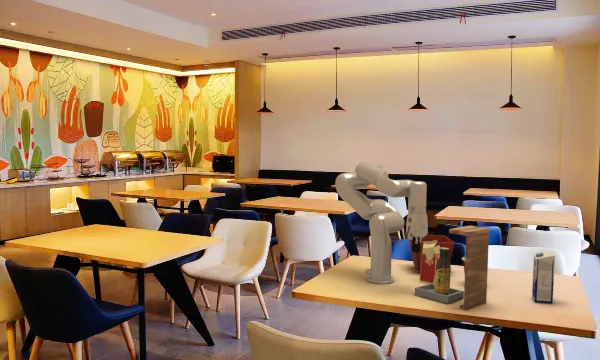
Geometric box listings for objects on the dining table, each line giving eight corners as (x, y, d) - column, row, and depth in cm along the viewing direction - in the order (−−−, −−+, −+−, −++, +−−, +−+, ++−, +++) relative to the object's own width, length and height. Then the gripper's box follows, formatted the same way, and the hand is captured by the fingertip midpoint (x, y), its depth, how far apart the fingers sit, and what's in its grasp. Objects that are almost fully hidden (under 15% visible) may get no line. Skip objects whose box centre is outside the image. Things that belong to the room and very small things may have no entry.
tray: (414, 294, 220) (414, 287, 219) (430, 289, 228) (431, 283, 227) (447, 303, 208) (447, 296, 207) (463, 298, 216) (463, 291, 215)
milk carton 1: (444, 281, 242) (445, 239, 241) (434, 285, 236) (436, 241, 234) (426, 278, 249) (428, 236, 247) (416, 281, 242) (418, 239, 241)
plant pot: (453, 276, 253) (455, 242, 252) (414, 275, 253) (415, 241, 252) (444, 267, 272) (445, 235, 271) (407, 266, 272) (408, 234, 271)
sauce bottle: (436, 297, 213) (438, 249, 212) (431, 293, 220) (433, 246, 218) (452, 297, 214) (454, 249, 213) (446, 292, 220) (448, 246, 219)
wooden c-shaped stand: (446, 305, 206) (449, 229, 204) (467, 298, 216) (469, 225, 214) (466, 310, 200) (469, 232, 198) (486, 302, 210) (489, 228, 208)
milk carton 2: (552, 304, 210) (555, 255, 208) (534, 302, 211) (536, 254, 210) (549, 299, 216) (551, 251, 215) (531, 297, 218) (533, 250, 217)
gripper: (413, 212, 216) (412, 255, 218) (434, 209, 227) (433, 251, 228) (399, 210, 222) (398, 252, 223) (420, 207, 232) (418, 248, 233)
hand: (415, 251), depth 226 cm, fingers closed
